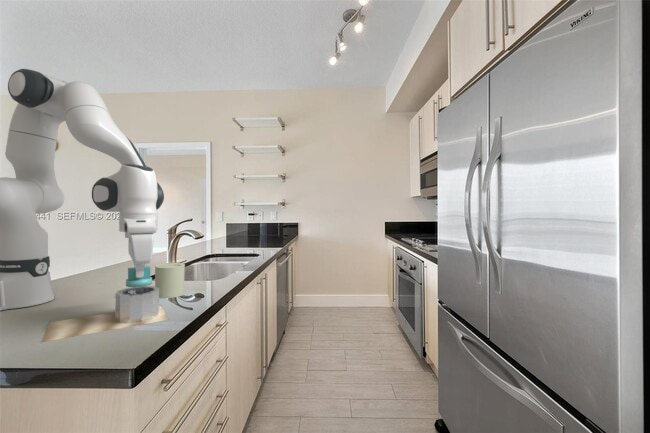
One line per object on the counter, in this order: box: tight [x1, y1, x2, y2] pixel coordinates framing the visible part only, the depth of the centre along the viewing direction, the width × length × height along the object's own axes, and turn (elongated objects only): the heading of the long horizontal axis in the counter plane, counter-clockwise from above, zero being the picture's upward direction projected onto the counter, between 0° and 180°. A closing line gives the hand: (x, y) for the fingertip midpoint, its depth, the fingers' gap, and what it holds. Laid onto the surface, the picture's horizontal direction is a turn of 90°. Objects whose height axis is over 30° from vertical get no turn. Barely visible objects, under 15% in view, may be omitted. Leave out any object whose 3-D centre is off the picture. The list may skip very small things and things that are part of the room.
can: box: [154, 262, 186, 299], centre depth 104 cm, size 9×9×12 cm
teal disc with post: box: [125, 265, 153, 288], centre depth 83 cm, size 6×6×4 cm
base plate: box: [41, 305, 170, 343], centre depth 79 cm, size 25×14×2 cm, turn 126°
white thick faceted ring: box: [114, 285, 160, 323], centre depth 83 cm, size 10×10×7 cm
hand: (138, 275), depth 83 cm, fingers closed on teal disc with post, 2 cm apart
